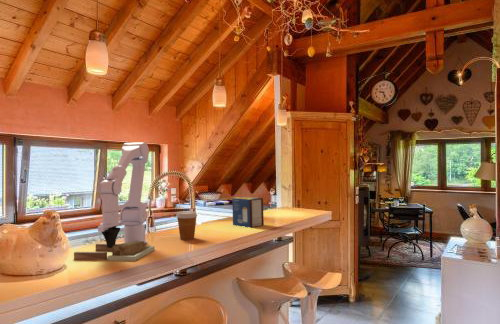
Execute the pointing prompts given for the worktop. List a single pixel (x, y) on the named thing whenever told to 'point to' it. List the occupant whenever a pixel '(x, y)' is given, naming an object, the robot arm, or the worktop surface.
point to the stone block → (128, 248)
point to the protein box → (248, 211)
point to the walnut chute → (94, 253)
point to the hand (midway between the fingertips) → (111, 247)
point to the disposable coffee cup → (186, 224)
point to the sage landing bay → (132, 258)
